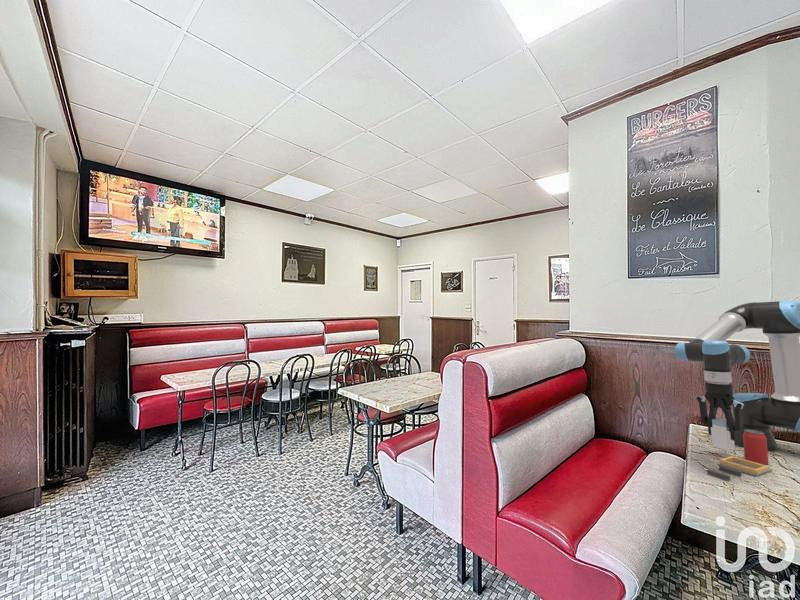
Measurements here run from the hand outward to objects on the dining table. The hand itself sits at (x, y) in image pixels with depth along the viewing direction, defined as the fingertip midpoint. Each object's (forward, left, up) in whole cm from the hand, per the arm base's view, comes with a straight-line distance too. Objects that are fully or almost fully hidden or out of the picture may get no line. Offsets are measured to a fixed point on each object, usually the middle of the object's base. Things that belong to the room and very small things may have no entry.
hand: (723, 446), depth 126 cm
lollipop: (-22, -9, -10) cm, 26 cm away
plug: (0, 0, 0) cm, 0 cm away
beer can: (-26, -1, -10) cm, 28 cm away
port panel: (-14, 0, -10) cm, 17 cm away
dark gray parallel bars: (0, 0, -10) cm, 10 cm away
